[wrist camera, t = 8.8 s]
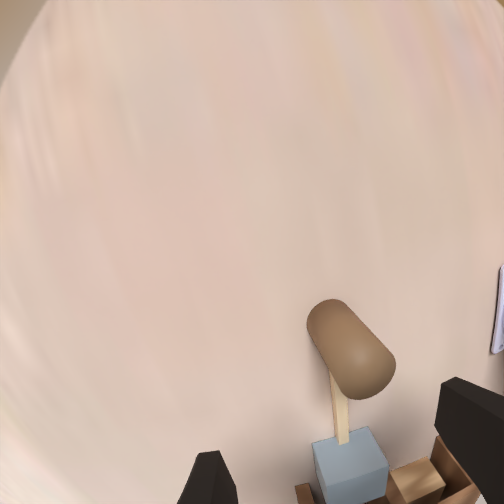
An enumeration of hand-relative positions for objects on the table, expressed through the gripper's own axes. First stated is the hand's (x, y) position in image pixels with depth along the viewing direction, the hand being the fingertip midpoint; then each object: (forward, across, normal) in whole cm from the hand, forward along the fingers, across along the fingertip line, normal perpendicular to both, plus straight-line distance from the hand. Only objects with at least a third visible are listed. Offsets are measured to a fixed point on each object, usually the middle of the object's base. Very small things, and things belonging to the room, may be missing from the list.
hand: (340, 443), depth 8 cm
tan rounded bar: (+10, -3, +8) cm, 13 cm away
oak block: (+10, -9, +22) cm, 26 cm away
